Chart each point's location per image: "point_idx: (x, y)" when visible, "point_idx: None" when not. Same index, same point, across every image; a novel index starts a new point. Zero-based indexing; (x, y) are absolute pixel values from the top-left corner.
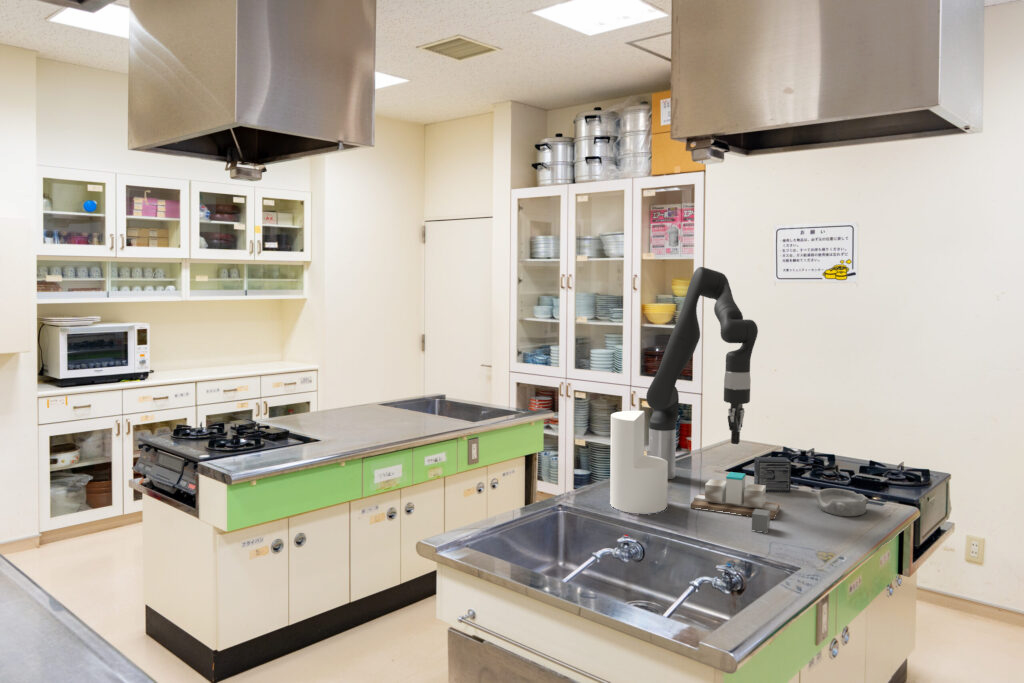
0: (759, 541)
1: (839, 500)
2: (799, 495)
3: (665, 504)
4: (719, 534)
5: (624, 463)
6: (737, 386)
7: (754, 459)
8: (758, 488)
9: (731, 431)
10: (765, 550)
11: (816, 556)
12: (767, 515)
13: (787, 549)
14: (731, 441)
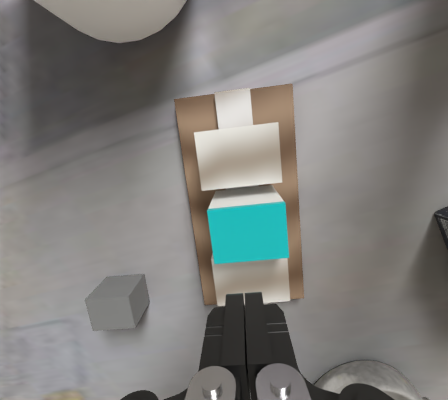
0: (58, 303)
1: None
2: (444, 307)
3: (117, 35)
4: (43, 227)
5: None
6: None
7: None
8: (243, 291)
9: (221, 365)
10: (21, 321)
11: (53, 392)
12: (96, 330)
13: (52, 350)
14: (225, 301)
